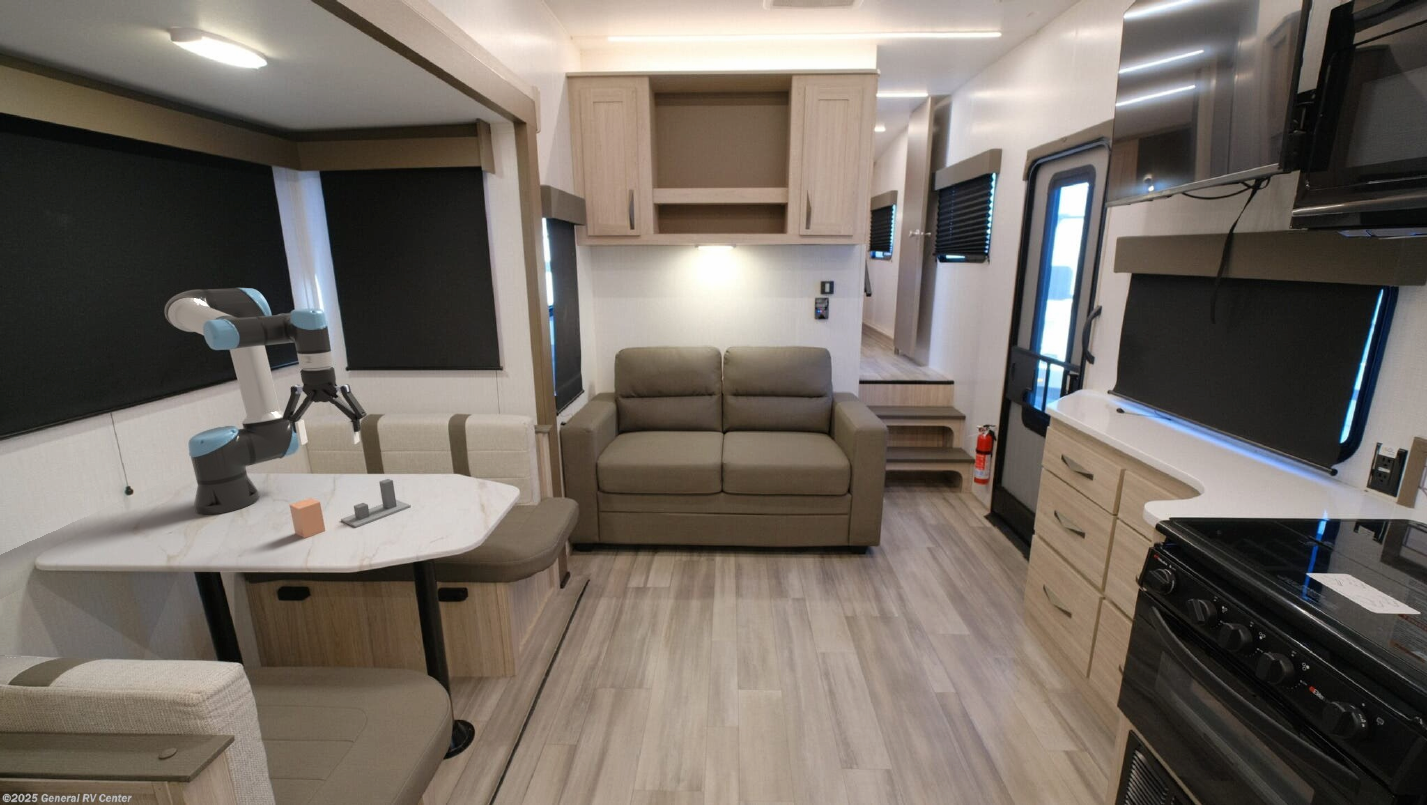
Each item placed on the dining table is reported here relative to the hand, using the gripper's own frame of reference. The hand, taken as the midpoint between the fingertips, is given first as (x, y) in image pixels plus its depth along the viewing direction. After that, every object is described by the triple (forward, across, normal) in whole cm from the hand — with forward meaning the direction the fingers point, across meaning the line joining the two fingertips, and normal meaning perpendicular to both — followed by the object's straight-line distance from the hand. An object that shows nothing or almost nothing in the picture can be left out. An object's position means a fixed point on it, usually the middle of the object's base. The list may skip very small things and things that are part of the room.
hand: (329, 443), depth 157 cm
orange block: (+24, -6, -5) cm, 25 cm away
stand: (+24, +7, +5) cm, 25 cm away
